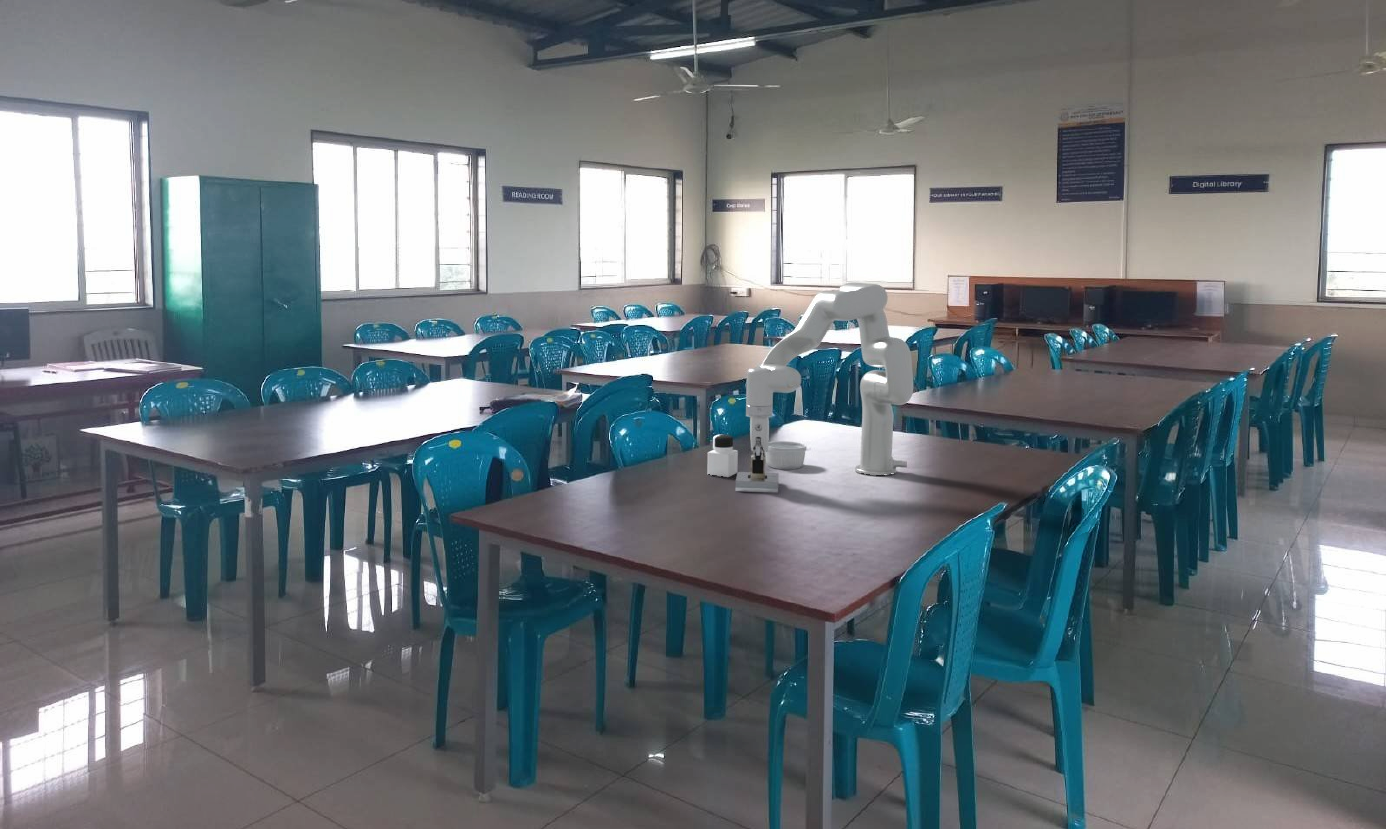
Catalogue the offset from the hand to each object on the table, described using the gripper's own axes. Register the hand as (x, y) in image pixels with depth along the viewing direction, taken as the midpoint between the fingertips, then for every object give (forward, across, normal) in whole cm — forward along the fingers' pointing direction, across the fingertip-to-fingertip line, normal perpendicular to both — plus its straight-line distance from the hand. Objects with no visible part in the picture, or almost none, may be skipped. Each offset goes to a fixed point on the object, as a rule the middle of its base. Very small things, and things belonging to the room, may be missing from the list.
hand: (758, 469), depth 296 cm
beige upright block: (+4, 0, 0) cm, 4 cm away
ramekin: (+6, +31, -8) cm, 32 cm away
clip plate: (+5, 0, 0) cm, 5 cm away
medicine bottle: (+5, +16, +11) cm, 20 cm away
